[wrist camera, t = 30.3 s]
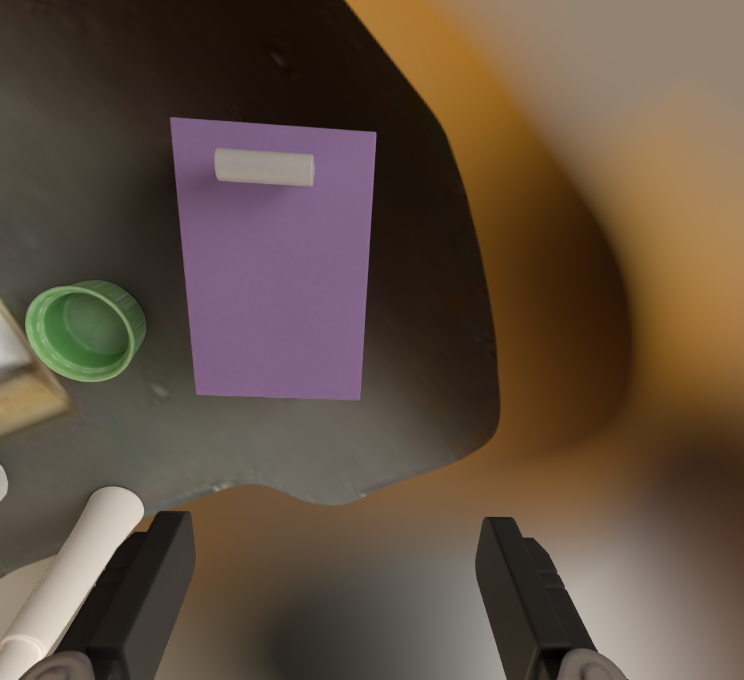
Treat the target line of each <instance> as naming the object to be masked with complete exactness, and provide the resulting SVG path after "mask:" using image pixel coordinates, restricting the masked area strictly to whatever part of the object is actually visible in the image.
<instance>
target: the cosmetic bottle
mask: <svg viewBox="0 0 744 680" xmlns="http://www.w3.org/2000/svg"><path fill="white" fill-rule="evenodd" d="M143 514H144V507H143V504H142V502H141V500H140V499H139V498H138V497H137V496H136V495H135V494H134V493H132V492H131V491H129V490H127V489H124V488H121V487H113V486H112V487H104V488H101V489H99V490H97V491H95V492H94V493H93V494H92V495H91V497H90V498H89V500H88V503H87V505H86V507H85V509H84V511H83V513H82V515H81V517H80V518H79V520H78V522H77V524H76V526H75V527H74V529H73V531H72V532H71V534H70V536H69V537H68V539H67V540H66V542H65V543H64V545H63V547H62V548H61V550H60V551H59V553H58V554H57V556H56V557H55V559H54V560H53V562H52V563H51V565H50V566H49V568H48V569H47V571H46V573H45V574H44V576H43V577H42V578H41V580H40V581H39V583H38V585H37V586H36V587H35V589H34V590H33V592H32V594H31V595H30V596H29V598H28V599H27V601H26V602H25V604H24V605H23V607H22V609H21V610H20V612H19V613H18V615H17V616H16V618H15V619H14V621H13V622H12V624H11V626H10V627H9V629H8V630H7V632H6V633H5V635H4V636H3V638H2V640H1V641H0V680H18V679H19V678H20V677H21V676H22V675H23V674H24V673H25V672H26V671H27V670H28V669H30V668H31V667H32V666H33V665H34V663H35V662H38V661H40V660H41V659H43V658H44V657H45V655H46V654H47V652H48V651H49V650H50V648H51V647H52V645H53V644H54V642H55V641H56V639H57V638H58V637H59V635H60V634H61V632H62V631H63V629H64V627H65V626H66V625H67V623H68V622H69V620H70V618H71V617H72V616H73V614H74V613H75V611H76V609H77V608H78V606H79V605H80V603H81V602H82V600H83V599H84V597H85V596H86V594H87V593H88V591H89V590H90V588H91V587H92V585H93V584H94V582H95V581H96V579H97V578H98V576H99V575H100V573H101V572H102V570H103V569H104V567H105V566H106V564H107V563H108V561H109V560H110V558H111V557H112V555H113V554H114V552H115V550H116V549H117V547H118V546H120V545H121V543H122V542H123V540H124V539H125V538H126V537H127V535H128V534H129V533H130V532H131V531H132V529H133V528H134V527H135V526H136V525H137V524H138V522H139V521H140V520H141V519H142V517H143Z"/></svg>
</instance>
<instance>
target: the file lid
mask: <svg viewBox="0 0 744 680" xmlns="http://www.w3.org/2000/svg"><path fill="white" fill-rule="evenodd" d="M170 126H171V136H172V147H173V158H174V168H175V179H176V190H177V200H178V211H179V221H180V232H181V243H182V253H183V264H184V274H185V285H186V296H187V306H188V317H189V327H190V338H191V349H192V359H193V370H194V380H195V391H196V395H219V396H249V397H280V398H310V399H341V400H360V391H361V375H362V359H363V343H364V326H365V310H366V294H367V278H368V261H369V245H370V229H371V212H372V196H373V180H374V164H375V147H376V132H366V131H353V130H339V129H325V128H311V127H298V126H284V125H270V124H257V123H243V122H229V121H216V120H202V119H188V118H175V117H171V118H170Z"/></svg>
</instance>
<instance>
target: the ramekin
mask: <svg viewBox="0 0 744 680" xmlns="http://www.w3.org/2000/svg"><path fill="white" fill-rule="evenodd" d="M25 330H26V335H27V339H28V341H29V344H30V346H31V348H32V349H33V351H34V352H35V354H36V355H37V356H38V358H39V359H40V360H41V361H42V362H43V363H44V364H45V365H47V366H48V367H49V368H50V369H52V370H53V371H55V372H56V373H58V374H60V375H62V376H64V377H67V378H70V379H73V380H77V381H83V382H99V381H104V380H108V379H110V378H113V377H115V376H116V375H118V374H119V373H121V372H122V371H123V370H124V369H125V368H126V367H127V366H128V365H129V363H130V361H131V360H132V358H133V355H134V354H135V353H136V351H137V350H138V349H139V347H140V346H141V344H142V343H143V340H144V338H145V335H146V319H145V315H144V313H143V310H142V308H141V307H140V305H139V304H138V302H137V301H136V300H135V299H134V298H133V296H132V295H130V294H129V293H128V292H127V291H125V290H124V289H123V288H121V287H119V286H117V285H115V284H113V283H110V282H106V281H102V280H87V281H81V282H77V283H74V284H71V285H64V286H58V287H54V288H51V289H48V290H46V291H44V292H42V293H41V294H39V295H38V296H37V297H36V298H35V299H34V300H33V301H32V302H31V304H30V306H29V308H28V310H27V313H26V318H25Z"/></svg>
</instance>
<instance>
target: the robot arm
mask: <svg viewBox="0 0 744 680" xmlns="http://www.w3.org/2000/svg"><path fill="white" fill-rule="evenodd" d="M194 566H195V545H194V536H193V527H192V519H191V514H190V512H189V511H159V512H158V513H157V514H156V516H155V518H154V520H153V522H152V523H151V525H150V527H149V529H148V531H147V532H134V533H133V534H132V535H131V536H130V537H129V538H127V539H126V540H125V541H124V542H123V543H122V544H121V545H120V546H118V547H117V549H116V550H115V552H114V554H113V555H112V557H111V559H110V560H109V562H108V564H107V565H106V569H105V570H104V571H103V572H102V574H101V575H100V577H99V579H98V580H97V582H96V586H94V587H93V589H92V590H91V592H90V594H89V595H88V597H87V599H86V601H85V602H84V604H83V605H82V607H81V609H80V610H79V612H78V614H77V616H76V617H75V619H74V621H73V622H72V624H71V626H70V627H69V629H68V631H67V632H66V634H65V636H64V637H63V639H62V641H61V642H60V644H59V646H58V647H57V649H56V650H55V652H54V653H53V654H52V655H51V656H48V657H46V658H44V659H42V660H41V661H39V662H38V663H36V664H35V665H33V666H32V667H31V668H30V669H28V670H27V671H26V672H25V673H24V674H23V675H22V676H21V677H20V678H19V679H18V680H154V678H155V675H156V672H157V670H158V667H159V664H160V662H161V659H162V656H163V654H164V651H165V648H166V646H167V643H168V640H169V638H170V635H171V632H172V630H173V627H174V624H175V621H176V619H177V616H178V614H179V611H180V608H181V605H182V603H183V600H184V598H185V595H186V592H187V590H188V587H189V584H190V582H191V579H192V575H193V572H194ZM475 568H476V577H477V581H478V585H479V588H480V592H481V595H482V598H483V602H484V605H485V608H486V612H487V615H488V618H489V622H490V625H491V628H492V631H493V635H494V638H495V642H496V645H497V648H498V652H499V655H500V658H501V662H502V665H503V668H504V672H505V675H506V678H507V680H628V679H627V678H626V677H625V675H624V674H623V673H622V671H621V670H620V669H619V668H618V667H617V666H616V665H615V664H614V663H613V662H612V661H611V660H609V659H608V658H606V657H605V656H603V655H602V654H600V653H598V651H597V649H596V647H595V646H594V644H593V642H592V640H591V638H590V636H589V634H588V632H587V630H586V628H585V626H584V624H583V622H582V620H581V618H580V616H579V614H578V612H577V610H576V608H575V606H574V604H573V602H572V600H571V598H570V596H569V594H568V592H567V590H565V586H564V584H563V582H562V580H561V578H560V576H559V575H558V574H557V570H556V568H555V566H554V564H553V562H552V560H551V558H550V556H549V554H548V553H547V552H546V551H545V550H544V549H543V547H542V546H541V545H540V544H539V543H538V542H537V541H536V540H535V539H534V538H523V537H522V535H521V533H520V531H519V528H518V526H517V524H516V522H515V520H514V519H513V518H512V517H485V518H484V520H483V524H482V528H481V533H480V538H479V543H478V549H477V553H476V559H475Z"/></svg>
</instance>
